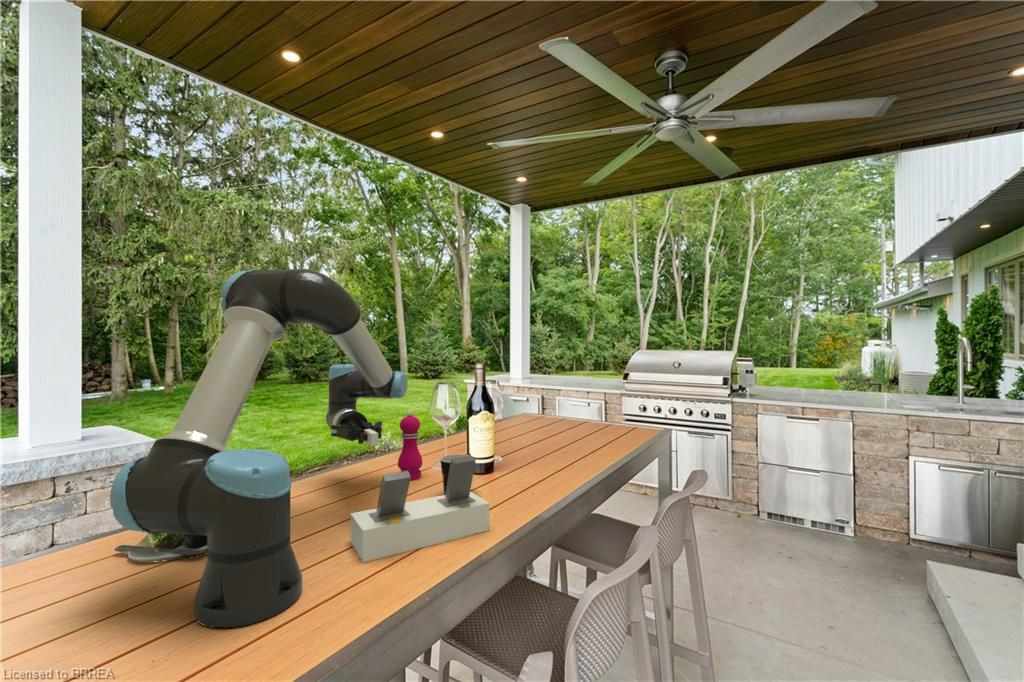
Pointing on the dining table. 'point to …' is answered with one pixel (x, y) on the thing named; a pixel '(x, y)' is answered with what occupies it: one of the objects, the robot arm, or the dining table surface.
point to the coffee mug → (448, 467)
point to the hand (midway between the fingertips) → (374, 439)
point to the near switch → (393, 493)
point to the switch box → (417, 525)
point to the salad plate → (165, 547)
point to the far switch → (460, 478)
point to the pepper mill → (410, 446)
